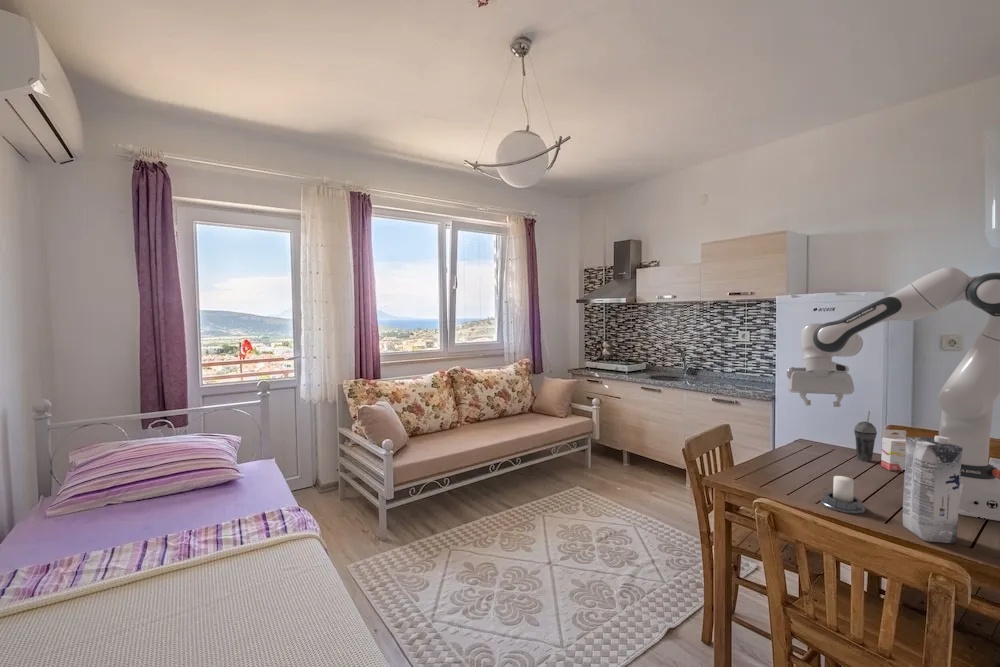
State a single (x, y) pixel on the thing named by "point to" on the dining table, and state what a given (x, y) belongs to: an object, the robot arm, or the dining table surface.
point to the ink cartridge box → (893, 450)
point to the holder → (843, 504)
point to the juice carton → (932, 488)
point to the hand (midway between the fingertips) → (822, 406)
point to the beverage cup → (865, 439)
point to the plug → (843, 489)
